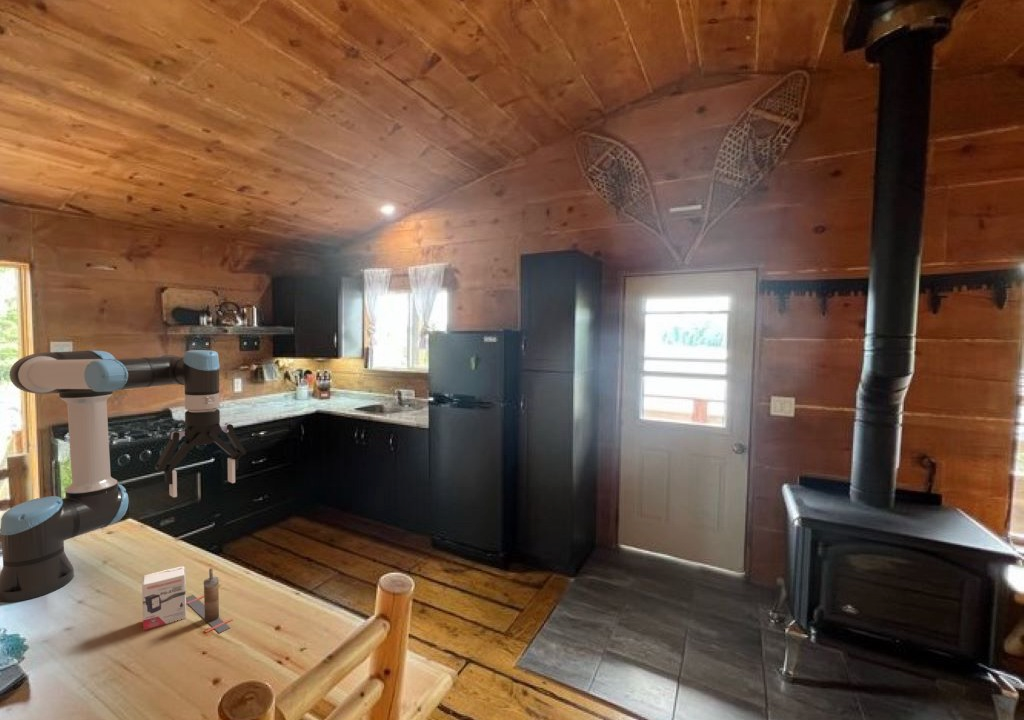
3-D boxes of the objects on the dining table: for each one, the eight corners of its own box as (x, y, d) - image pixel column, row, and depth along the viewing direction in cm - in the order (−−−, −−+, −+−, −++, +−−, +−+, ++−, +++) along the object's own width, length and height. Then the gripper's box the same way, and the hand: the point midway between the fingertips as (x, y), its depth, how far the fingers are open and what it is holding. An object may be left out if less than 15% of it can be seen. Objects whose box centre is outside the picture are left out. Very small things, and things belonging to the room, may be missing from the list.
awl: (202, 618, 114) (201, 568, 113) (216, 612, 116) (215, 563, 115) (207, 623, 112) (206, 573, 111) (221, 617, 115) (220, 567, 114)
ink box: (142, 631, 109) (141, 584, 108) (143, 620, 113) (142, 575, 112) (186, 618, 114) (185, 573, 113) (186, 608, 118) (184, 564, 117)
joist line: (174, 602, 120) (174, 602, 120) (200, 592, 125) (200, 591, 125) (210, 637, 108) (210, 636, 108) (237, 624, 112) (237, 623, 112)
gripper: (148, 418, 106) (150, 506, 108) (258, 405, 126) (259, 479, 128) (138, 413, 110) (140, 498, 112) (246, 401, 131) (246, 473, 132)
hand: (203, 488), depth 120 cm, fingers open, 13 cm apart
